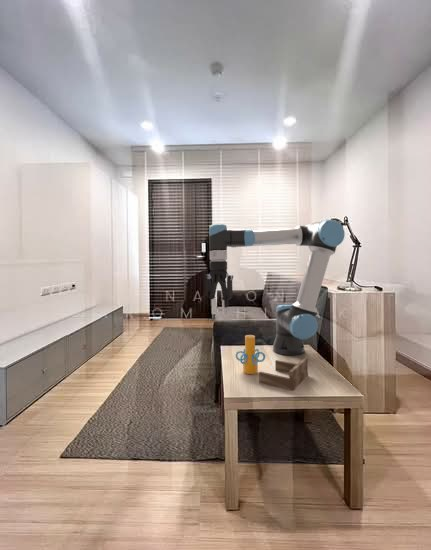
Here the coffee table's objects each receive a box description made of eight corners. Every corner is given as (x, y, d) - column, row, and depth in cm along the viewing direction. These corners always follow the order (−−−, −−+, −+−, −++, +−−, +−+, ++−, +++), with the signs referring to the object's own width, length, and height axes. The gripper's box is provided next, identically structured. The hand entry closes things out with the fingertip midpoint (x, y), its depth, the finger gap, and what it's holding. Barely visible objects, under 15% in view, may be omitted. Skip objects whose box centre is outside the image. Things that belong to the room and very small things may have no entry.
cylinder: (265, 368, 135) (265, 333, 134) (264, 377, 125) (264, 340, 123) (237, 366, 137) (237, 332, 136) (234, 375, 127) (233, 339, 126)
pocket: (276, 369, 133) (276, 352, 133) (307, 375, 126) (307, 358, 125) (259, 382, 120) (258, 364, 119) (292, 390, 112) (292, 371, 112)
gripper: (196, 261, 138) (197, 313, 140) (231, 261, 128) (232, 317, 130) (206, 260, 144) (207, 310, 146) (240, 260, 134) (241, 314, 136)
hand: (219, 314), depth 138 cm, fingers open, 5 cm apart
